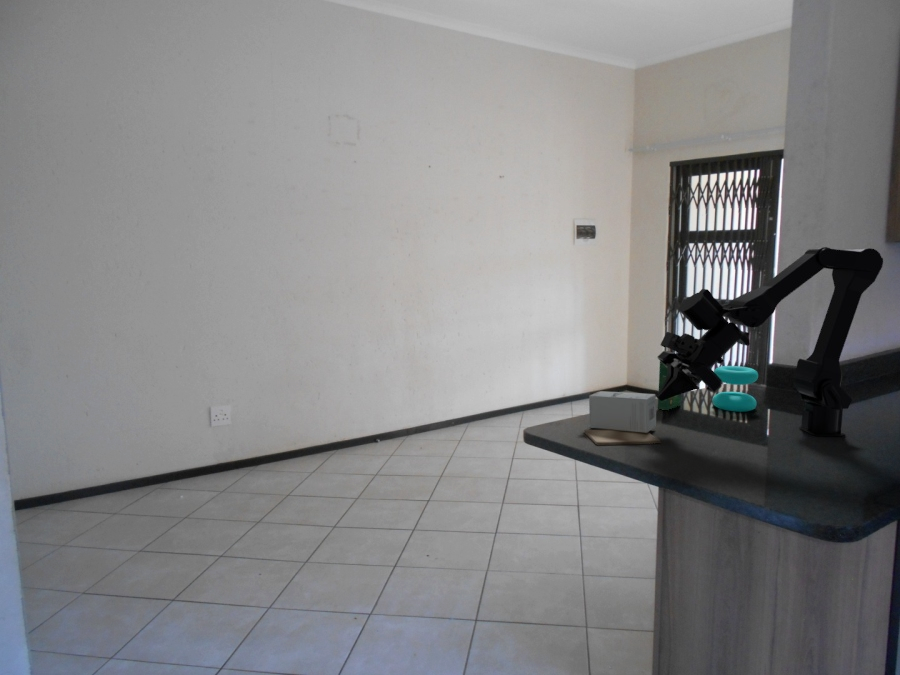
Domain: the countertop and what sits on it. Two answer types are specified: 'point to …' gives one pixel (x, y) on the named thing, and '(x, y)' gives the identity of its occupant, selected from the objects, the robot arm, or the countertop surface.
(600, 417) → the supplement box
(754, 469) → the countertop surface
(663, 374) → the coffee box
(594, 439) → the wooden board
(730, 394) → the donuts
